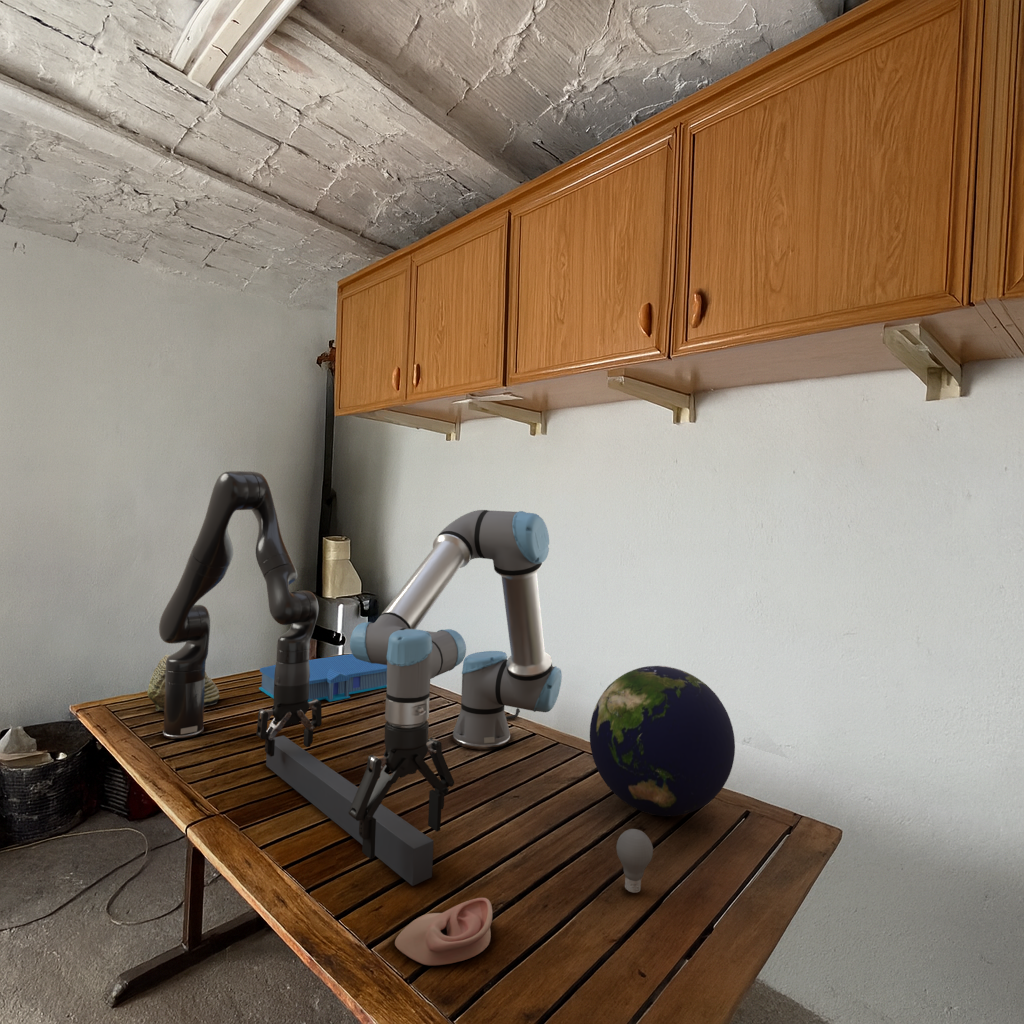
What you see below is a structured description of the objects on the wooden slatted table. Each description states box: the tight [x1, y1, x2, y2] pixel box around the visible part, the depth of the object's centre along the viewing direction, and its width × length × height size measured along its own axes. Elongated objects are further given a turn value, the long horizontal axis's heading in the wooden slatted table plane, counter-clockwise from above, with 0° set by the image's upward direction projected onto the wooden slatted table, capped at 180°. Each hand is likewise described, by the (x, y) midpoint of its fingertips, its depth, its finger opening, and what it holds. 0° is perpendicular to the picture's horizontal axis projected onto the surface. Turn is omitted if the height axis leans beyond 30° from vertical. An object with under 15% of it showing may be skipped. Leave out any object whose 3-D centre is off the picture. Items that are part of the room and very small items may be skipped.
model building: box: [258, 653, 387, 703], centre depth 208 cm, size 39×24×10 cm, turn 132°
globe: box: [589, 665, 736, 817], centre depth 135 cm, size 30×30×30 cm
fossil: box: [147, 654, 221, 712], centre depth 185 cm, size 9×18×15 cm, turn 132°
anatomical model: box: [394, 897, 493, 967], centre depth 92 cm, size 13×4×12 cm
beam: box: [265, 735, 434, 887], centre depth 127 cm, size 60×4×6 cm, turn 44°
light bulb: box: [615, 828, 654, 894], centre depth 106 cm, size 6×6×10 cm
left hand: (289, 750), depth 144 cm, fingers open, 8 cm apart
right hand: (402, 841), depth 111 cm, fingers open, 13 cm apart
